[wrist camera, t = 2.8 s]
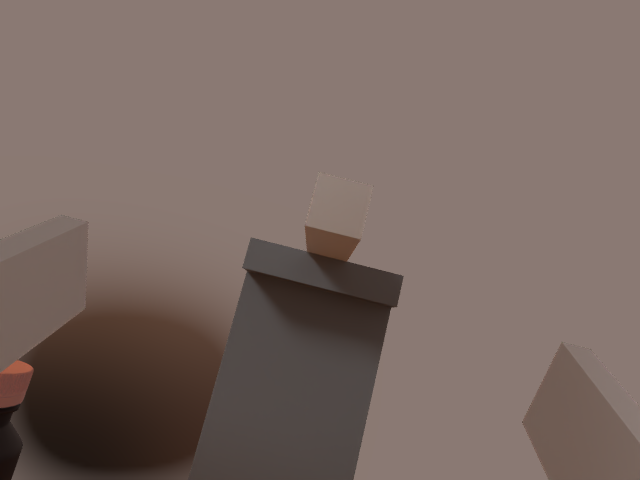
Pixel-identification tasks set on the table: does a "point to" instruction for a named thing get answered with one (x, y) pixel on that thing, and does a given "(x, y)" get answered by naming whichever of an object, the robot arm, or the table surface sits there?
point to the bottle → (3, 399)
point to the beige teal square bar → (336, 216)
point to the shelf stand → (296, 368)
